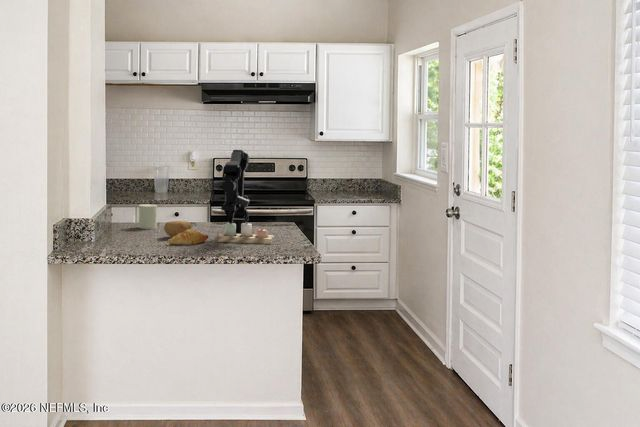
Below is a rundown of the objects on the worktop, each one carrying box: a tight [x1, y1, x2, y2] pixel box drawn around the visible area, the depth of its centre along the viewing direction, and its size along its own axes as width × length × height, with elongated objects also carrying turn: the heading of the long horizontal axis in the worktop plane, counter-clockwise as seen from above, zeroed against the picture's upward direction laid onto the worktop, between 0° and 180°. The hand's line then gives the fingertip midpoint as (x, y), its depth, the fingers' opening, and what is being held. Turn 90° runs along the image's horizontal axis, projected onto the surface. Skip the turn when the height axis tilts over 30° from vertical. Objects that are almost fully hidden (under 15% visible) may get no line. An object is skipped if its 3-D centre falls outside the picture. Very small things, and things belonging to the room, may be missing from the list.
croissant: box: [167, 228, 209, 246], centre depth 369 cm, size 21×10×8 cm
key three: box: [256, 228, 268, 238], centre depth 380 cm, size 5×5×6 cm
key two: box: [241, 222, 253, 236], centre depth 380 cm, size 5×5×6 cm
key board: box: [217, 232, 275, 245], centre depth 380 cm, size 25×11×2 cm, turn 87°
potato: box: [163, 220, 192, 238], centre depth 384 cm, size 10×14×8 cm
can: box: [138, 203, 158, 230], centre depth 411 cm, size 9×9×12 cm
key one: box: [224, 222, 237, 236], centre depth 380 cm, size 5×5×6 cm
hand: (230, 223), depth 380 cm, fingers closed, pressing on key one
